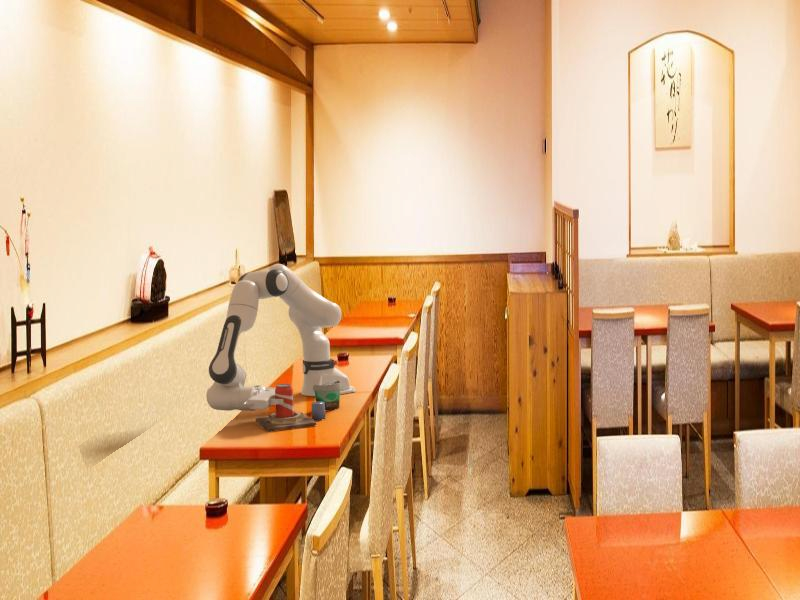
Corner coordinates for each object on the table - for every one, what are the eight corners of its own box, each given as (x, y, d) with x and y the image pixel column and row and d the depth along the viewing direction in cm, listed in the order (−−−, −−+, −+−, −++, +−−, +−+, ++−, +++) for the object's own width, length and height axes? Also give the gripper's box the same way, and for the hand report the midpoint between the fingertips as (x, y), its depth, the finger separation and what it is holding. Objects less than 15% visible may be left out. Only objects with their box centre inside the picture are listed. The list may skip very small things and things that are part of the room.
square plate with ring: (302, 415, 378) (301, 407, 377) (316, 425, 361) (316, 417, 361) (255, 421, 371) (254, 412, 371) (267, 431, 354) (267, 423, 354)
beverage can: (297, 416, 366) (295, 384, 365) (284, 420, 361) (282, 387, 360) (285, 414, 370) (284, 382, 369) (272, 417, 366) (271, 385, 364)
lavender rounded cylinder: (322, 416, 375) (322, 400, 374) (327, 419, 371) (326, 403, 370) (310, 418, 373) (309, 402, 373) (314, 421, 369) (313, 405, 368)
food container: (323, 413, 381) (321, 387, 380) (313, 410, 386) (312, 384, 385) (349, 407, 389) (348, 382, 388) (339, 405, 394) (338, 380, 392)
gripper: (240, 396, 357) (278, 396, 354) (258, 384, 377) (293, 384, 374) (241, 413, 357) (278, 414, 355) (259, 400, 377) (294, 401, 375)
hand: (286, 398), depth 365 cm, fingers closed on beverage can, 6 cm apart
